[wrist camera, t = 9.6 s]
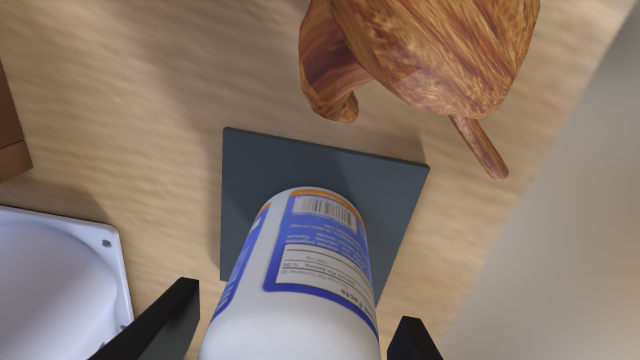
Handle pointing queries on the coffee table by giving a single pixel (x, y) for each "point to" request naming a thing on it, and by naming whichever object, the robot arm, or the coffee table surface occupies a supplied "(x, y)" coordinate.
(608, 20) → the coffee table surface
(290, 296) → the pill bottle
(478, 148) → the cat figurine
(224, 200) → the mat
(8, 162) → the rack
